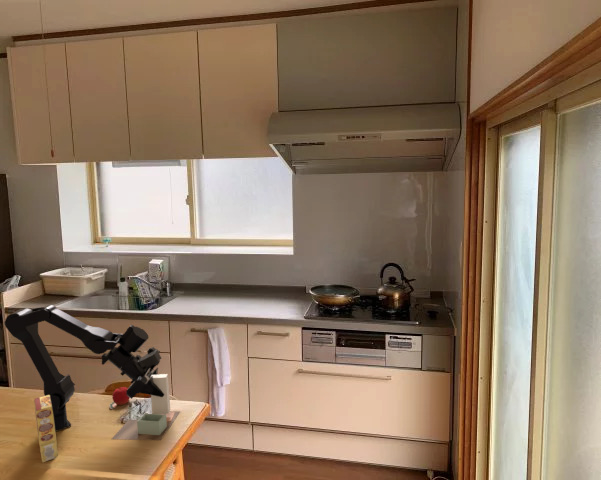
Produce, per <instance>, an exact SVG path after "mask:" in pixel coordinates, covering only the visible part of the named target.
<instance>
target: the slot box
mask: <svg viewBox="0 0 601 480" xmlns="http://www.w3.org/2000/svg"><path fill="white" fill-rule="evenodd" d="M166 427H167V422H166V415H164V414H148V413H145V414H144V415H143V416H142V417H141V418H140V419H139V420H138V421H137V428H138V434H150V435H160V434H161V433H162V432H163V431H164V430H165V429H166Z"/></svg>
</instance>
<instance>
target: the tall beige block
mask: <svg viewBox="0 0 601 480" xmlns="http://www.w3.org/2000/svg"><path fill="white" fill-rule="evenodd" d="M152 376H153V382H154V384H155V385H156V386H157V387H158V388H159V389H160V390H161V391H162V392H163V393H164V396H163V397H158V396H154V395H150V399H151V400H150V402H151V411H152V414H168V413H169V411H170V410H171V403H170V402H171V401H170V398H171V397H170V386H169V384H170V383H169V374H168V373H166V374H165V373H161V374H158V375H151V377H152ZM151 377H150V378H151Z"/></svg>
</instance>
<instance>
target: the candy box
mask: <svg viewBox="0 0 601 480" xmlns="http://www.w3.org/2000/svg"><path fill="white" fill-rule="evenodd" d="M33 400H34V410H35V423H36V429H37V430H36V431H37V437H38V443H39V445H38V446H39V452H40V456H41V457H40V458H41V462H42V463H45V462H48V461H51V460H55V459H56V458H58V456H59V454H58V442H57V435H56V432H55V424H54V416H53V409H52V403H51V399H50V395H47V396H45V395H44V396H43V395H42V396H38V397H35V398H34V399H33Z"/></svg>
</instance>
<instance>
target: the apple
mask: <svg viewBox="0 0 601 480" xmlns="http://www.w3.org/2000/svg"><path fill="white" fill-rule="evenodd" d="M128 388H129V387H126V386H121V387H118V388H115V390H114V391H113V392H112V396H111V397H112V402H111V403H110V404H109V405H108V406H109V409H110V410H114V409H115V408H116V407H117V406H118V405H119V406H122V405H126V404H127V403H128V402H129V401H130V398H129V397H128V396H127V394H126V391H127V389H128Z"/></svg>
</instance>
